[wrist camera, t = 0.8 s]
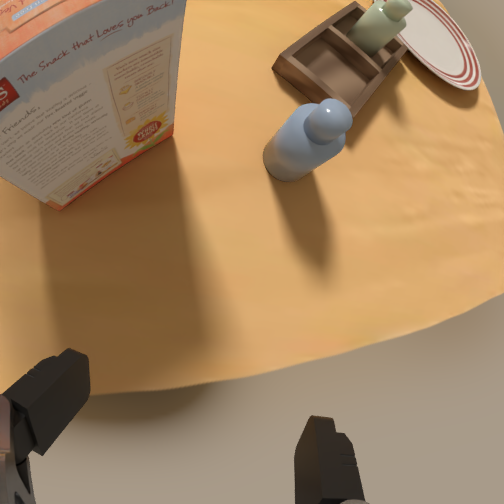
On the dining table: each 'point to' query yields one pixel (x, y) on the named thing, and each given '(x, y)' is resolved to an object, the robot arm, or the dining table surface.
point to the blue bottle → (307, 139)
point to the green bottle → (379, 25)
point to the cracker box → (84, 89)
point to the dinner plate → (440, 45)
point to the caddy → (337, 62)
